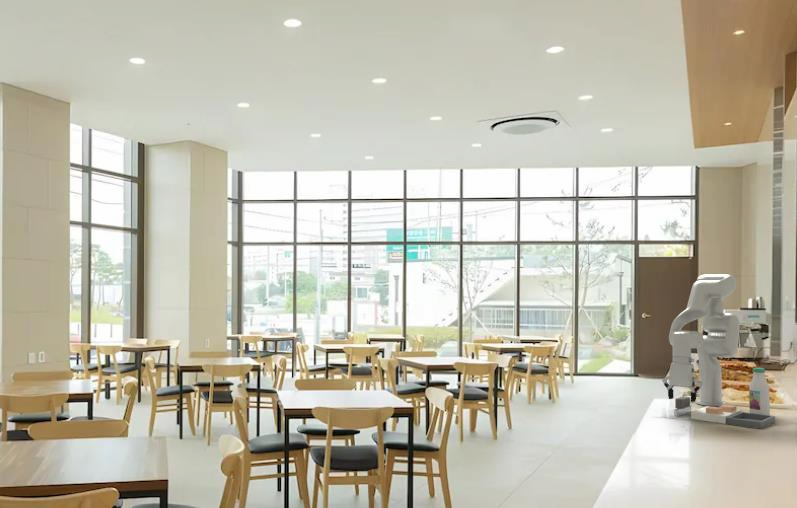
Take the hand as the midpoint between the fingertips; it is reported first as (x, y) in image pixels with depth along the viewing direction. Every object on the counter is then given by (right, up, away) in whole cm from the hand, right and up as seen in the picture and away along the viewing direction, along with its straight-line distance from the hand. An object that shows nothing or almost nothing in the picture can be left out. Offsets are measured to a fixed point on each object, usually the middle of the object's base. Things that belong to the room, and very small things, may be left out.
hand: (682, 400), depth 310 cm
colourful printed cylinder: (+32, -6, -4) cm, 32 cm away
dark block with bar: (+1, -6, 0) cm, 6 cm away
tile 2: (+16, -3, -9) cm, 18 cm away
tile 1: (+8, -3, -13) cm, 16 cm away
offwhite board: (+10, -6, -10) cm, 15 cm away
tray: (+20, -5, -19) cm, 29 cm away
